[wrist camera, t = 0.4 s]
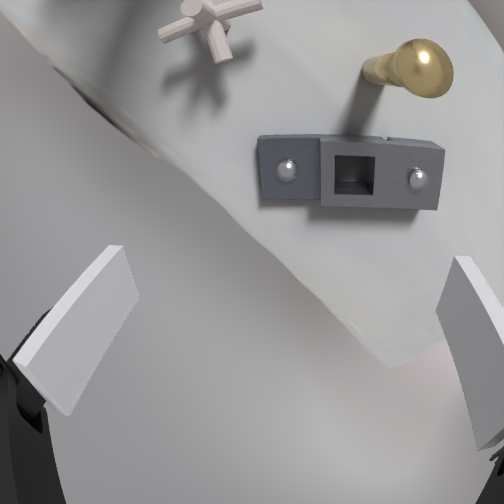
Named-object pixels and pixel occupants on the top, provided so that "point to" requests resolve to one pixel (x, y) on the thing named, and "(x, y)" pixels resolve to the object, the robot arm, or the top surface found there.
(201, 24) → the white crossed rod jack
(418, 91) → the pin
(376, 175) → the square socket block
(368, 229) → the top surface
